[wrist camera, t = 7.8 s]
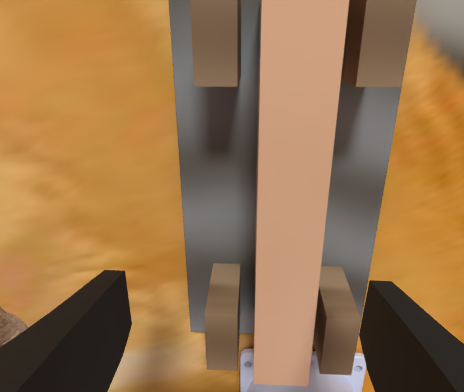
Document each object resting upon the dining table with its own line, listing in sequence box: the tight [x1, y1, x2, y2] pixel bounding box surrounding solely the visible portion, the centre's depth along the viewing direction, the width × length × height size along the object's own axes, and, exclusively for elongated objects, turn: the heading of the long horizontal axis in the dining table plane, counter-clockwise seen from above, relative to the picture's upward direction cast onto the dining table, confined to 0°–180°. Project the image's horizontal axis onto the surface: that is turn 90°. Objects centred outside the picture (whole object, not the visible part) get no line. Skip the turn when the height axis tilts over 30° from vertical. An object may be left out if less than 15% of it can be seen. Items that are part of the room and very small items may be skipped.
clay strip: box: [253, 0, 349, 386], centre depth 16 cm, size 16×2×5 cm, turn 0°
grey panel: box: [169, 0, 417, 375], centre depth 17 cm, size 20×10×5 cm, turn 0°
